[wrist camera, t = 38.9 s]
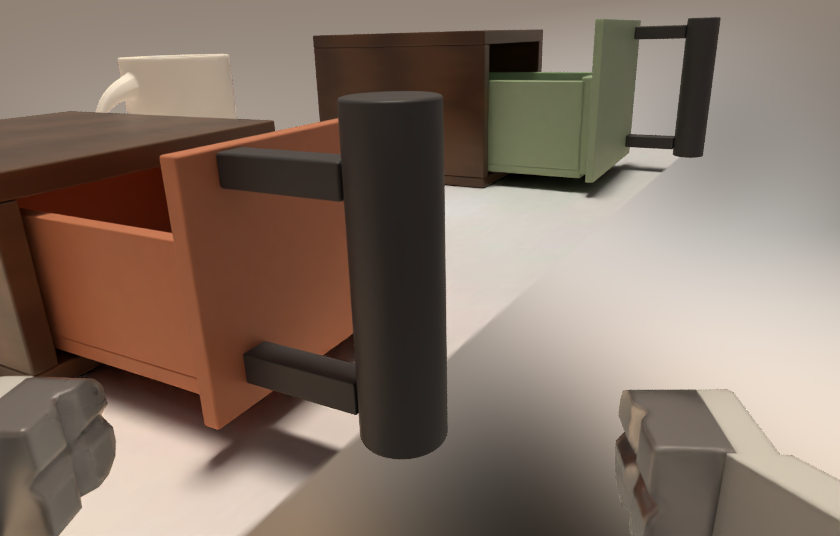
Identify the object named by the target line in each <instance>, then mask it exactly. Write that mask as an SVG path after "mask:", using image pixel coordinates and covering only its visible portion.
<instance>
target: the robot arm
mask: <svg viewBox="0 0 840 536" xmlns="http://www.w3.org/2000/svg"><path fill="white" fill-rule="evenodd" d="M107 404H108V403H107V399H106V396H105V392H104V388H103V385H102V384H100V383H99V382H98V381H96V380H95V379H87V378H62V377H33V376H3V377H0V536H59V535H60V533H61V532H62V531H63V530H64V529H65V527H66V526H67V525H68V524H69V523H70V521H71V520H72V519H73V518H74V517H75V515H76V514H77V513H78V512H79V511H80V509H81V508H82V504H81V497H82V496H83V495H85V494H87V493H89V492H91V491H93V490H94V489H96V488H98V487H99V486H100V485H101V484H102V482H103V481H104V480H105V479H106V477H107V476H108V475H109V473H110V470H111V467H112V464H113V461H114V458H115V449H116V440H115V435H114V430H113V427H112V426H111V425H110V424H109V423H108V422H107V421H106V420H105V419H104V418H103V417H102V416H101V414H102V413H103V411H104V409H105V407H106V405H107ZM619 418H620V420H621V423H622V426H623V428H624V431H625V432H624V433H623V434H622V435H621V436H620V437H619V438H618V439H617V440H616V447H615V479H616V484H617V490H618V494H619V497H620V500H621V504H622V505H623V506H624V507H625V508H627V509H628V510H629V511H630V512H631V514H630V524H629V529H630V531H631V535H632V536H840V480H839V479H837V478H835V477H833V476H831V475H829V474H827V473H826V472H824V471H822V470H820V469H818V468H816V467H814V466H812V465H810V464H808V463H806V462H804V461H802V460H800V459H798V458H797V457H795V456H792V455H780V453H779V452H778V451H777V449H776V448H775V447H774V445H773V444H772V443H771V442H770V440H769V439H768V438H767V436H766V435H765V434H764V432H763V431H762V430H761V428H760V427H759V426H758V424H757V423H756V422H755V420H754V419H753V418H752V416H751V415H750V414H749V412H748V411H747V410H746V408H745V407H744V406H743V404H742V403H741V402H740V400H739V399H738V398H737V396H736V395H735V394H734V392H732V391H730V390H727V389H715V390H624V391H623V392H622V396H621V399H620V407H619Z"/></svg>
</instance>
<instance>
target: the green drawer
mask: <svg viewBox="0 0 840 536" xmlns="http://www.w3.org/2000/svg"><path fill="white" fill-rule="evenodd" d="M640 23H641V21H640V20H616V19H596V22H595V38H594V53H593V68H592V72H489V114H488V171H493V172H506V173H518V174H531V175H544V176H557V177H570V178H581V177H582V176H583V175H585V182H589V183H593V182H594V181H595V180H597V179H598V178H599V177H600V176H601V175H603V174H604V173H605V172H606V171H607V170H609V169H610V168H611V167H612V166H614V165H615V164H616V163H617V162H618V161H620V160H621V159H622V158H623V157H624V156H626V155H627V154H628V153H629V148H630V147H638V148H657V149H673V155H674V156H678V157H689V158H692V157H693V158H694V157H701V156H703V149H704V142H705V134H706V127H707V119H708V111H709V103H710V96H711V88H712V79H713V72H714V65H715V57H716V49H717V40H718V34H719V26H720V17H711V18H689V19H688V24H687V25H673V26H640ZM669 38H671V39H674V38H686V41H685V51H684V59H683V68H682V77H681V85H680V95H679V103H678V112H677V121H676V130H675V136H657V135H636V134H631V125H632V114H633V102H634V91H635V80H636V68H637V57H638V46H639V39H669Z"/></svg>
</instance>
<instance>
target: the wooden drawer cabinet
mask: <svg viewBox="0 0 840 536" xmlns="http://www.w3.org/2000/svg"><path fill="white" fill-rule="evenodd" d="M542 40H543V30H488V31H487V30H485V31H452V32H419V33H386V34H354V35H321V36H313V41H314V53H315V66H316V78H317V91H318V104H319V116H320V122H323V121H327V120H332V119H337V118H338V109H337V100H338V98H339V97H342V96H345V95H350V94H357V93H369V92H387V91H423V92H434V93H439V94H441V95H442V96H443V116H444V184H446V185H457V186H468V187H479V188H484V187H486V186H488V185H489V184H491V183H493V182H495V181H497V180H499V179H500V178H502V177H504V176H506V175H508V174H510V173H506V172H493V171H488V114H489V72H541V68H542Z"/></svg>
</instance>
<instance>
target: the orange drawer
mask: <svg viewBox="0 0 840 536" xmlns="http://www.w3.org/2000/svg"><path fill="white" fill-rule="evenodd" d="M337 109H338V118H337V119H332V120H327V121H323V122H318V123H313V124H308V125H303V126H299V127H294V128H289V129H284V130H280V131H275V132H270V133H265V134H260V135H255V136H251V137H246V138H241V139H236V140H231V141H227V142H222V143H217V144H212V145H207V146H203V147H198V148H193V149H188V150H183V151H179V152H174V153H169V154H164V155H161V156H160V164H161V167H157V168H152V169H148V170H144V171H139V172H135V173H130V174H126V175H122V176H117V177H113V178H108V179H104V180H100V181H95V182H91V183H86V184H82V185H77V186H73V187H69V188H64V189H60V190H55V191H51V192H47V193H42V194H38V195H33V196H29V197H25V198H20V199H16V201H17V202H18V205H19V209H20V213H21V217H22V221H23V225H24V229H25V233H26V237H27V241H28V245H29V249H30V253H31V257H32V261H33V264H34V268H35V272H36V276H37V280H38V284H39V288H40V292H41V296H42V300H43V304H44V308H45V312H46V316H47V320H48V324H49V328H50V332H51V335H52V339H53V343H54V347H55V348H57V349H60V350H64V351H67V352H70V353H73V354H76V355H79V356H82V357H85V358H88V359H92V360H95V361H98V362H101V363H104V364H107V365H110V366H113V367H117V368H120V369H123V370H126V371H129V372H132V373H135V374H138V375H141V376H145V377H148V378H151V379H154V380H157V381H160V382H163V383H166V384H169V385H173V386H176V387H179V388H182V389H185V390H188V391H191V392H194V393H197V394H200V400H201V406H202V412H203V418H204V424H205V425H206V426H209V427H211V428H214V429H217V430H218V429H221V428H222V427H224V426H225V425H226V424H228V423H229V422H231V421H232V420H233V419H235V418H236V417H237V416H239V415H240V414H242V413H243V412H244V411H246V410H247V409H249V408H250V407H251V406H253V405H254V404H256V403H257V402H258V401H260V400H261V399H263V398H264V397H265V396H267V395H268V394H270V393H271V392H272V391H276V392H280V393H283V394H286V395H290V396H293V397H297V398H300V399H303V400H307V401H310V402H313V403H317V404H320V405H324V406H327V407H330V408H334V409H337V410H341V411H344V412H347V413H351V414H354V415H357V414H358V413H359V425H360V436H361V440H362V442H363V443H364V445H365V446H366V447H367V448H368V449H369V450H370V451H372V452H373V453H375V454H377V455H380V456H382V457H386V458H392V459H411V458H417V457H420V456H424V455H427V454H429V453H431V452H433V451H434V450H436V449H437V448H438V447H440V446H441V445H442V443H443V442H444V440H445V438H446V436H447V432H448V431H447V430H448V425H447V346H446V270H445V193H444V116H443V96H442V95H441V94H439V93H434V92H423V91H387V92H369V93H357V94H350V95H345V96H342V97H339V98H338V100H337ZM352 334H353V339H354V353H355V364H354V363H350V362H346V361H343V360H339V359H335V358H331V357H327V356H323V355H324V354H325V353H327V352H328V351H329V350H331V349H332V348H334V347H335V346H336V345H338V344H339V343H341V342H342V341H343V340H345V339H346V338H348V337H349V336H350V335H352Z"/></svg>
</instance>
